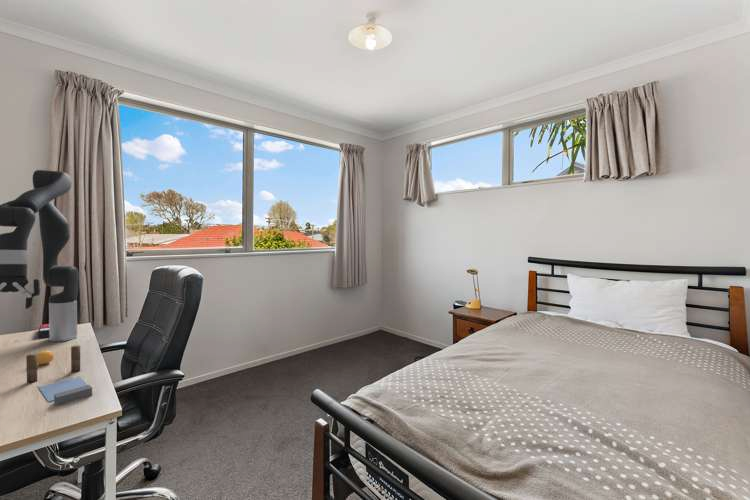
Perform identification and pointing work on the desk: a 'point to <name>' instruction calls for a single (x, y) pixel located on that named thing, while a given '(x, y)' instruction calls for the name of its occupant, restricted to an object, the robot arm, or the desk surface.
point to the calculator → (43, 331)
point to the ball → (45, 357)
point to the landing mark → (61, 387)
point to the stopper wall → (72, 395)
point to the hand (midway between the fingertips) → (9, 309)
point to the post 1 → (31, 368)
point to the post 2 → (75, 358)
